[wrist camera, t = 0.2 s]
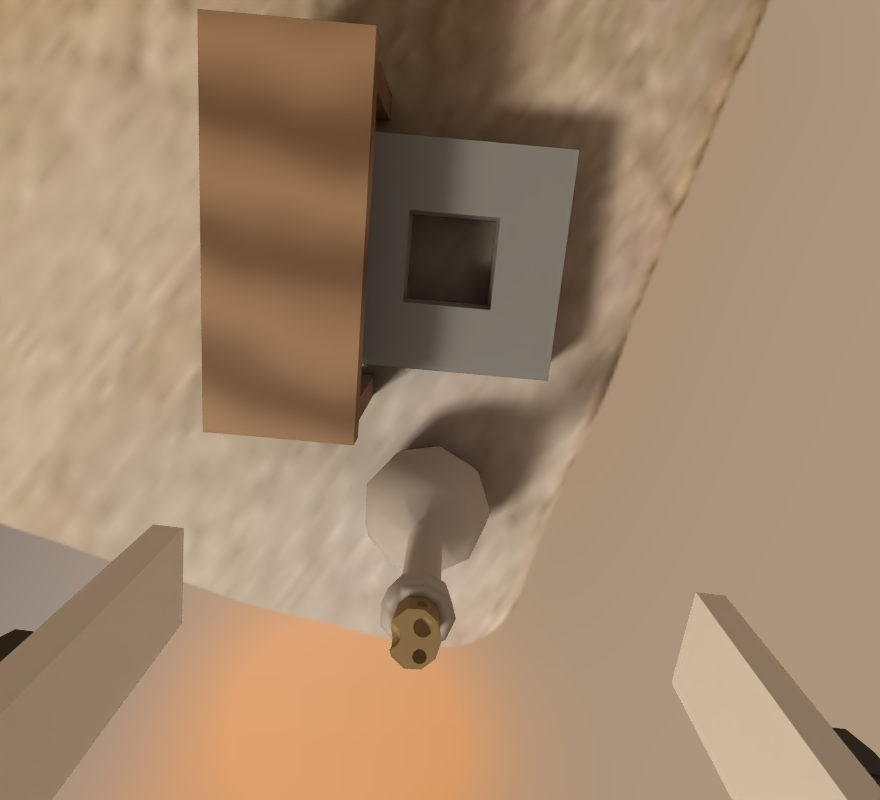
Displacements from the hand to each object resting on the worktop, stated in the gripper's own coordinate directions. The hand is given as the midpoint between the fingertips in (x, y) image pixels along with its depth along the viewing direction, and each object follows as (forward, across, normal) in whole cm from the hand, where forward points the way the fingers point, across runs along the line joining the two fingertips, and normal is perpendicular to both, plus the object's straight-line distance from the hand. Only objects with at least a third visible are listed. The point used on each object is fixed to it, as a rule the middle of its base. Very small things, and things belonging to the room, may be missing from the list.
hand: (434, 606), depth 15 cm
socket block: (+28, -1, +8) cm, 29 cm away
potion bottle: (+28, 0, -9) cm, 29 cm away
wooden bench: (+28, -9, +8) cm, 30 cm away
